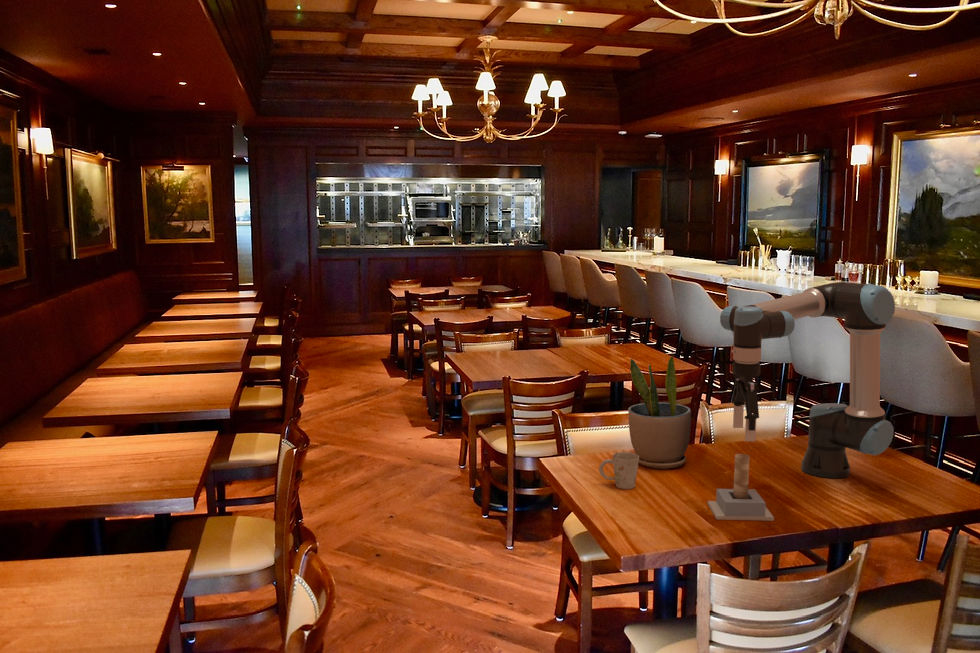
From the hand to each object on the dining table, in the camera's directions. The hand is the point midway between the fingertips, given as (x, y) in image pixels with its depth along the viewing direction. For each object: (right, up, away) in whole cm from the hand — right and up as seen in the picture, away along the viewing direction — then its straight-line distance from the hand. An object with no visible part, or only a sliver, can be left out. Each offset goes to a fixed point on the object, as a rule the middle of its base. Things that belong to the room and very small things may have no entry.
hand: (743, 434), depth 228 cm
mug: (-32, -20, +26) cm, 46 cm away
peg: (0, -22, +3) cm, 22 cm away
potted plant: (-14, -17, +49) cm, 54 cm away
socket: (0, -23, +3) cm, 23 cm away
